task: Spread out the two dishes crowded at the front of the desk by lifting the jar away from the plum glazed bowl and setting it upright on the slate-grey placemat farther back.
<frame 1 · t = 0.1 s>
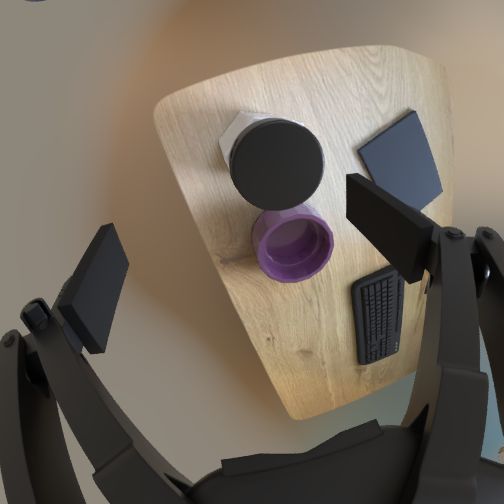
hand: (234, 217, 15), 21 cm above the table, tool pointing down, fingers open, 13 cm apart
placemat: (405, 171, 38), on the table
keyboard: (377, 321, 56), on the table
jar: (254, 143, 33), on the table
bowl: (286, 232, 40), on the table
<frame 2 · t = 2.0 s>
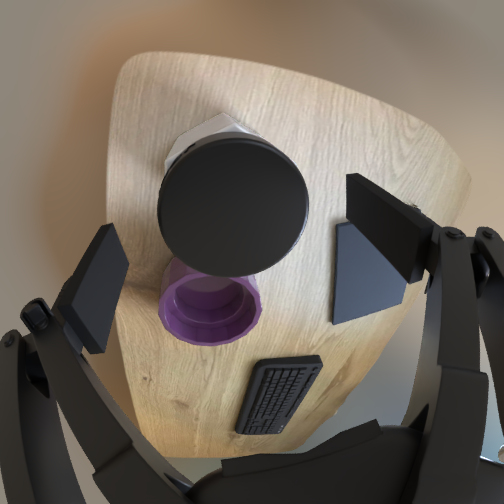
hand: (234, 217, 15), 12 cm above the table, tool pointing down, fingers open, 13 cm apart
placemat: (374, 269, 35), on the table
keyboard: (269, 401, 49), on the table
jar: (220, 160, 25), on the table
bowl: (208, 282, 31), on the table
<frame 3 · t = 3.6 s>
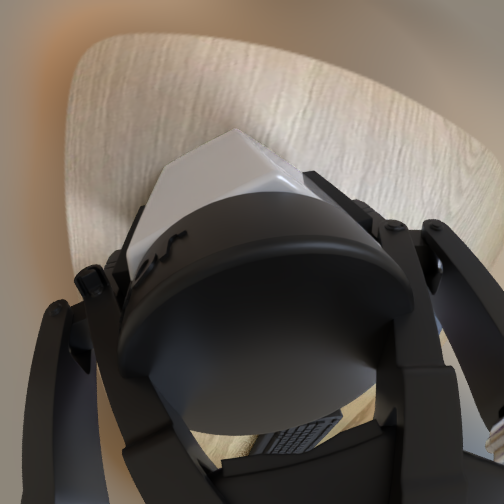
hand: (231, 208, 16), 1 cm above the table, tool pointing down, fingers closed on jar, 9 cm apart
keyboard: (280, 445, 41), on the table
jar: (230, 201, 17), on the table, touching gripper
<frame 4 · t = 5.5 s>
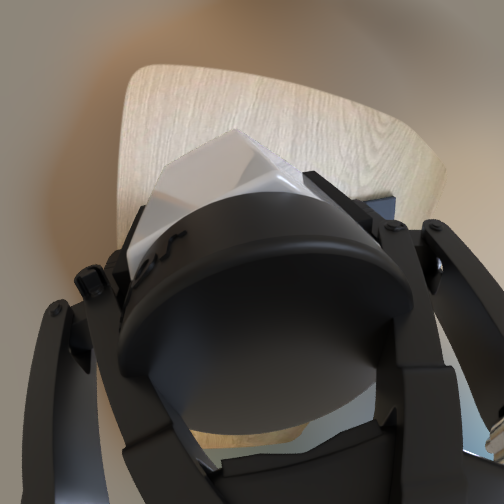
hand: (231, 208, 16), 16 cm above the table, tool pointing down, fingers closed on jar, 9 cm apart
placemat: (355, 253, 39), on the table
jar: (229, 201, 17), point 14 cm above the table, touching gripper
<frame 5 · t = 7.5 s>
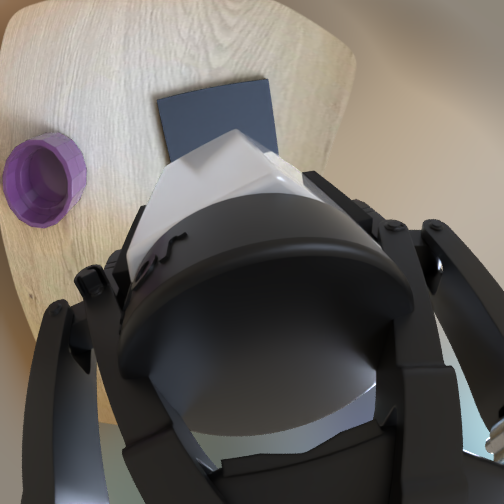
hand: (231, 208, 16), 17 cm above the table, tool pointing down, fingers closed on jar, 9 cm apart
placemat: (224, 155, 31), on the table
jar: (230, 201, 17), point 16 cm above the table, touching gripper
bowl: (53, 172, 27), on the table
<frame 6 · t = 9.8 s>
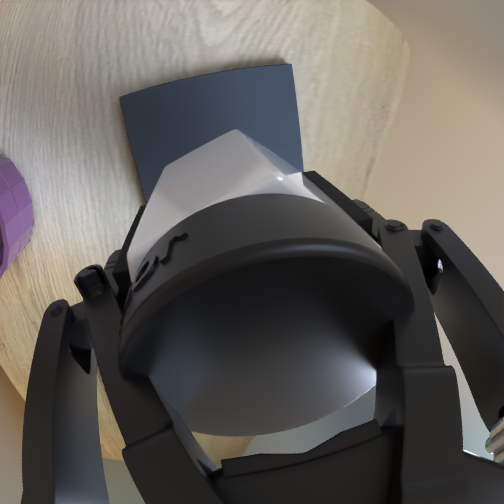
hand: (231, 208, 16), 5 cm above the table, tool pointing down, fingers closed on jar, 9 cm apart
placemat: (223, 179, 21), on the table
jar: (230, 201, 17), point 4 cm above the table, touching gripper
when the fingers open (1 cm above the table, at t = 11.3 s): jar stays where it is, resting on placemat.
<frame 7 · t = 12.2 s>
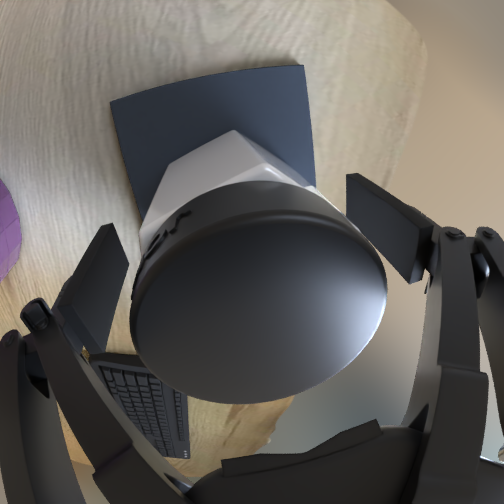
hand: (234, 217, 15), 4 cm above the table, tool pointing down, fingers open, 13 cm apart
placemat: (227, 194, 19), on the table
keyboard: (150, 416, 33), on the table
jar: (228, 196, 18), resting on placemat
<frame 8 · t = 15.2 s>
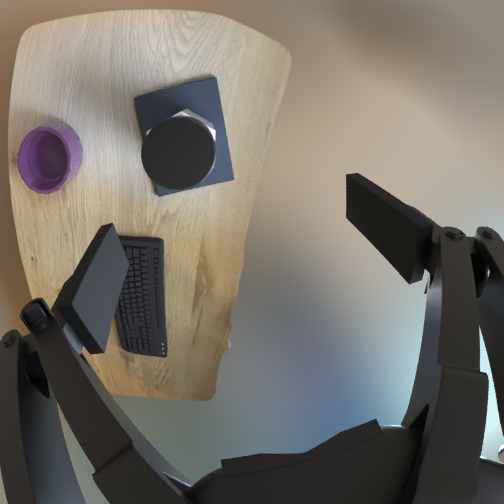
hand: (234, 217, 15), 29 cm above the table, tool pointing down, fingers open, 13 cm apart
placemat: (184, 137, 38), on the table
keyboard: (138, 302, 52), on the table
jar: (184, 137, 38), resting on placemat
bowl: (56, 153, 35), on the table
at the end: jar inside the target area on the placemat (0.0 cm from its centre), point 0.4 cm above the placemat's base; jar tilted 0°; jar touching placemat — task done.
